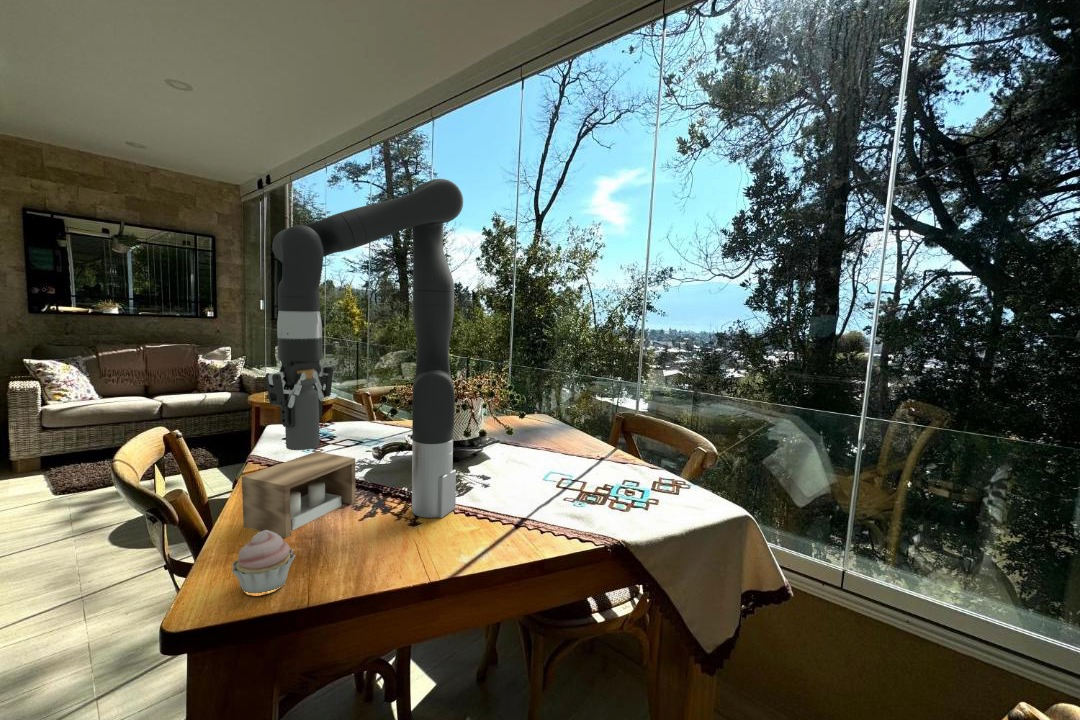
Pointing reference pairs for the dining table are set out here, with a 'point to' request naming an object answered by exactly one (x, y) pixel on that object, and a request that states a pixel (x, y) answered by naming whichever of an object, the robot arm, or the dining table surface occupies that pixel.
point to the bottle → (305, 416)
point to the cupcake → (263, 563)
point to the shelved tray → (316, 510)
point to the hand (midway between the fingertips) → (302, 422)
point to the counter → (293, 488)
